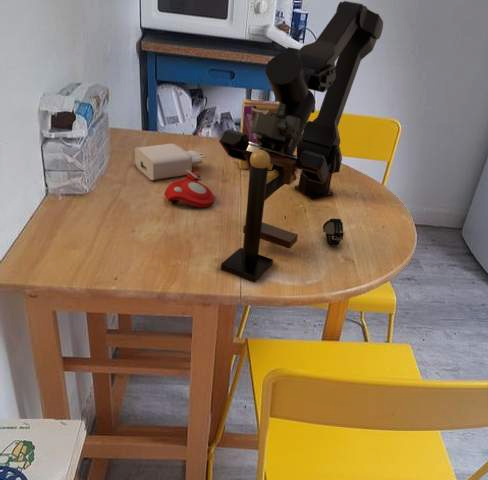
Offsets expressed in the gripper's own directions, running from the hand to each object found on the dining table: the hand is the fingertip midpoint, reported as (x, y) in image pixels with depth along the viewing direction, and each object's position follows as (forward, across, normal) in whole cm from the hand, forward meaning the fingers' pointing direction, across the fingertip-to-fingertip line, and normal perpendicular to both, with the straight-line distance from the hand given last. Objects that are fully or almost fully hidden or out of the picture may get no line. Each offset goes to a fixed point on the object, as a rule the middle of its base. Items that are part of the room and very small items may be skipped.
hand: (254, 201), depth 83 cm
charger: (-7, -30, +21) cm, 38 cm away
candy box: (-18, -17, +32) cm, 40 cm away
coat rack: (+9, +3, +4) cm, 10 cm away
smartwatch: (-1, +12, +14) cm, 18 cm away
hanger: (+4, +3, +6) cm, 7 cm away
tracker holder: (-1, -19, +15) cm, 24 cm away
